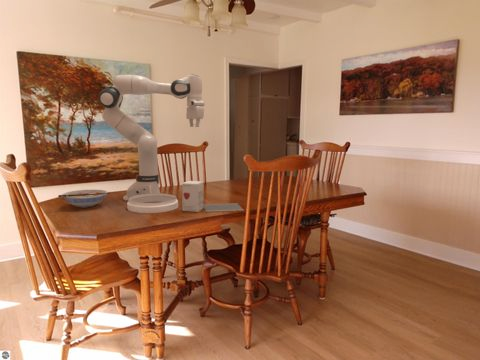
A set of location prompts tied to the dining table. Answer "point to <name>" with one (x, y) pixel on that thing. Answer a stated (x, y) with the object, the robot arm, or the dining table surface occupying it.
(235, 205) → the grey flat slab
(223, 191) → the dining table surface
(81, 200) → the ramen bowl
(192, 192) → the supplement box
